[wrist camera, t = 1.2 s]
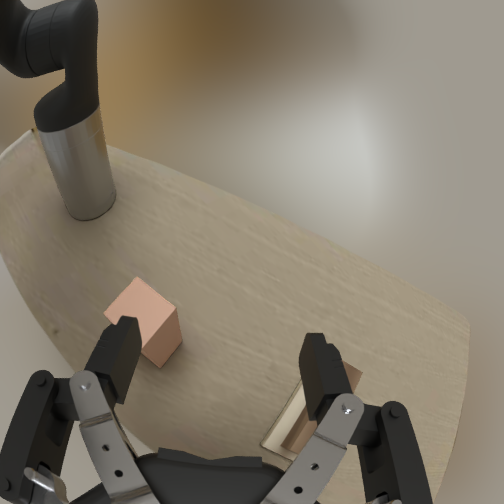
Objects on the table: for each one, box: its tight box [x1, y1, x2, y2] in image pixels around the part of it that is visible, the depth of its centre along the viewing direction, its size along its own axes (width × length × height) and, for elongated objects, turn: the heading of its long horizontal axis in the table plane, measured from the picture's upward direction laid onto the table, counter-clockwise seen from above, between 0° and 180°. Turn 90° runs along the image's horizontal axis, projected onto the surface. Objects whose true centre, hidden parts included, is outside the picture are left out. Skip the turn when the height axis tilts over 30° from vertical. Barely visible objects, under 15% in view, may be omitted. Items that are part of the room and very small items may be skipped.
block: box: [103, 276, 182, 368], centre depth 25 cm, size 4×4×12 cm
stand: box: [260, 360, 363, 461], centre depth 27 cm, size 7×14×5 cm, turn 147°
